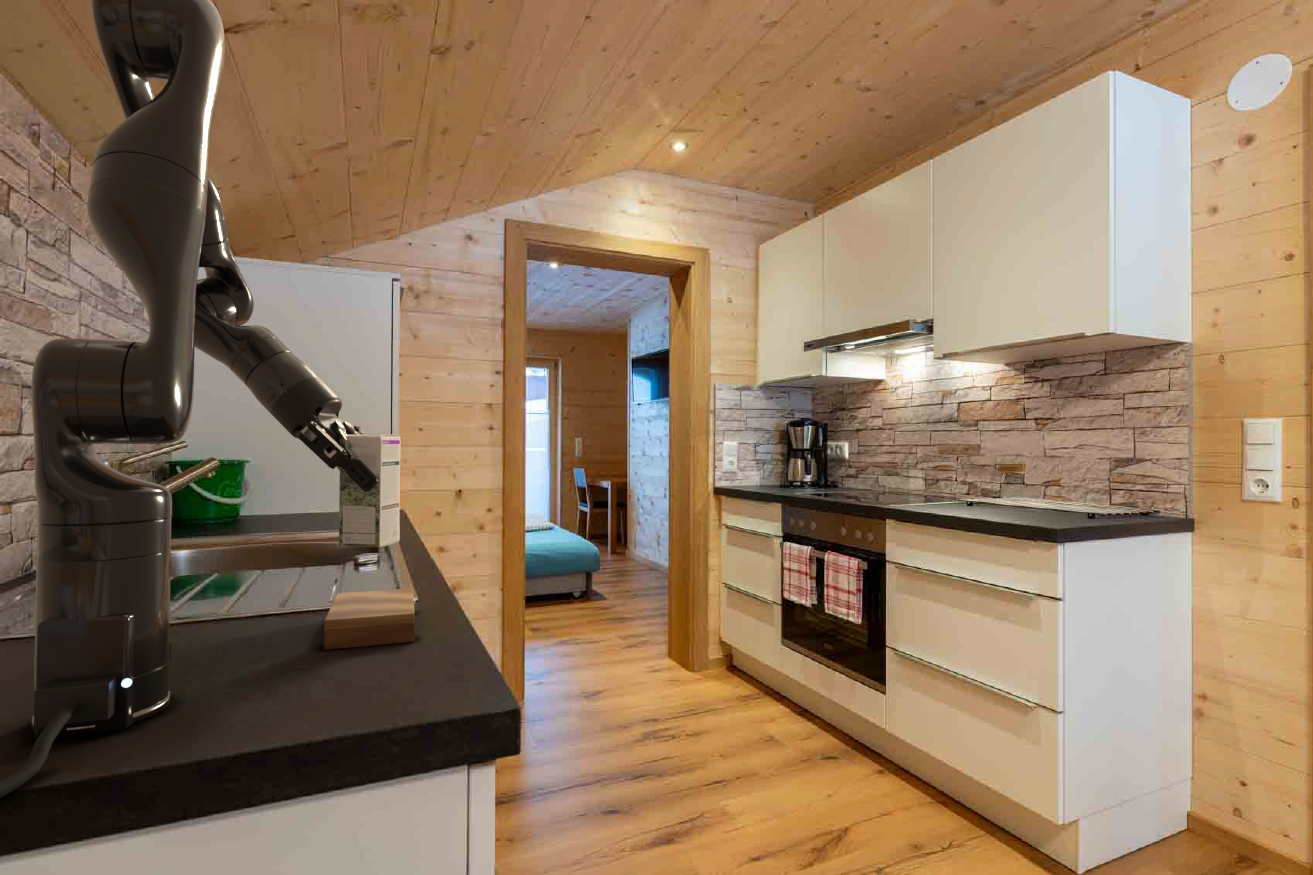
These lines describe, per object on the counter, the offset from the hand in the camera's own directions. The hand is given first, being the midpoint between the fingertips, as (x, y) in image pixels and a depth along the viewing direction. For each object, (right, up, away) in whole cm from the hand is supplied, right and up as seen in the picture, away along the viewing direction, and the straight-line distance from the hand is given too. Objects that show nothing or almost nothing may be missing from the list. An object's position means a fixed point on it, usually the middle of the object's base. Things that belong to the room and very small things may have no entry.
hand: (383, 485), depth 89 cm
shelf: (-1, -19, 0) cm, 19 cm away
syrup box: (-2, -8, 0) cm, 8 cm away
